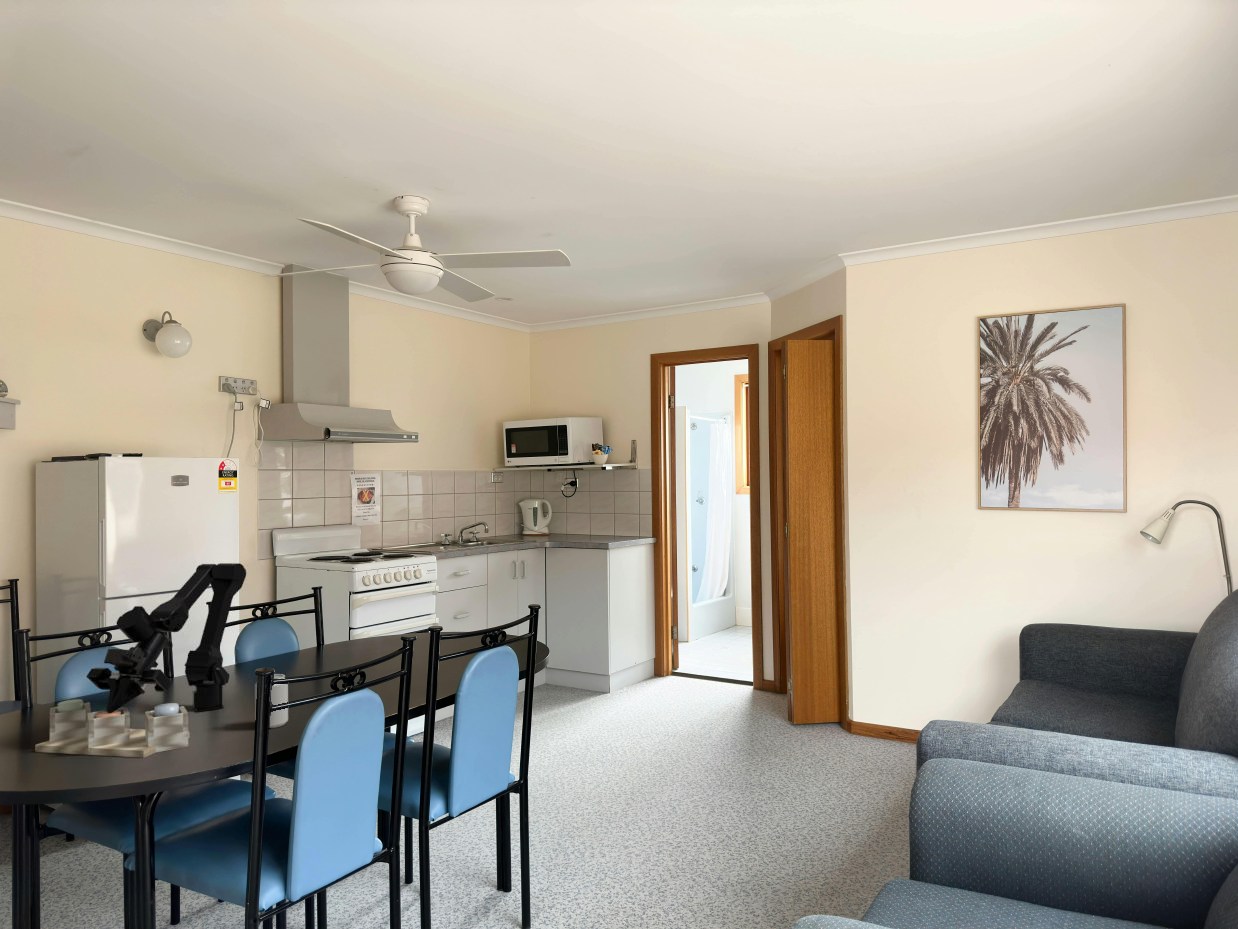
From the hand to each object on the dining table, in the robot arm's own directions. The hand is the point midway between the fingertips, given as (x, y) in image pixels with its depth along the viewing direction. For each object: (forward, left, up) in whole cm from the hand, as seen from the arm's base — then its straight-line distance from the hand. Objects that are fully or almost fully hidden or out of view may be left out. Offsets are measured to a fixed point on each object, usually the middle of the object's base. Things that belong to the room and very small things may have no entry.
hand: (108, 712), depth 185 cm
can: (-34, +5, -8) cm, 35 cm away
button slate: (-11, +8, -2) cm, 13 cm away
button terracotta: (0, 0, -3) cm, 3 cm away
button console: (-1, -1, -8) cm, 8 cm away
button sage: (+7, -11, -2) cm, 13 cm away
